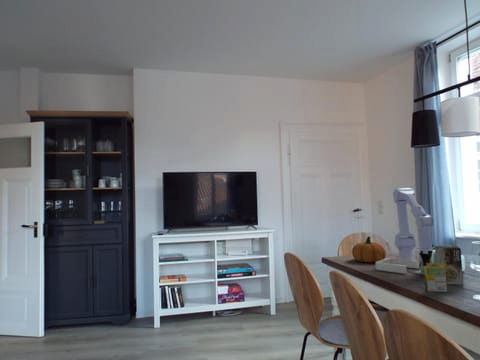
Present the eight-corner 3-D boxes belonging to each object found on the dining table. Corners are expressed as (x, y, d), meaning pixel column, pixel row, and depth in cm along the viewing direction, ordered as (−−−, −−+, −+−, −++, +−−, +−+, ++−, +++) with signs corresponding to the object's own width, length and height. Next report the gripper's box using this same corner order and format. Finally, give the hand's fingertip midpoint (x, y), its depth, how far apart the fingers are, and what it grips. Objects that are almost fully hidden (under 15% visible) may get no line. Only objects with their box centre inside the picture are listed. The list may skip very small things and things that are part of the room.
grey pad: (421, 270, 176) (421, 269, 176) (440, 272, 169) (440, 272, 169) (414, 273, 170) (414, 272, 170) (433, 275, 163) (433, 275, 163)
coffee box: (459, 281, 151) (457, 245, 152) (463, 285, 145) (461, 247, 146) (436, 280, 154) (434, 245, 155) (440, 283, 148) (437, 247, 149)
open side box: (389, 264, 192) (389, 257, 192) (419, 268, 181) (418, 260, 181) (375, 269, 180) (375, 262, 181) (406, 273, 169) (405, 265, 169)
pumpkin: (346, 261, 206) (345, 237, 206) (361, 257, 218) (360, 234, 219) (377, 265, 191) (375, 239, 192) (391, 260, 204) (390, 236, 205)
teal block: (421, 270, 173) (420, 259, 173) (432, 271, 170) (431, 259, 170) (421, 272, 169) (420, 260, 169) (432, 273, 167) (431, 261, 167)
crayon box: (444, 290, 138) (442, 261, 139) (447, 292, 135) (445, 263, 136) (425, 289, 140) (423, 261, 141) (427, 291, 137) (426, 263, 138)
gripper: (417, 237, 179) (418, 262, 178) (415, 240, 166) (417, 268, 166) (432, 237, 175) (433, 263, 174) (431, 241, 163) (433, 269, 162)
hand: (426, 266), depth 170 cm, fingers open, 7 cm apart
